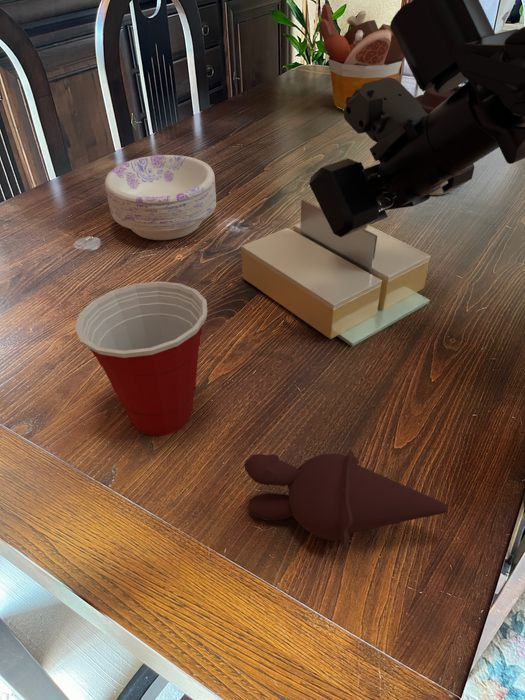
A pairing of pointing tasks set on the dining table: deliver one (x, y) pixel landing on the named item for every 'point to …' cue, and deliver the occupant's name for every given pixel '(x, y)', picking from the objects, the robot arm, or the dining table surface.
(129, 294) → the plastic cup
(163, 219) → the paper bowls
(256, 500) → the icecream
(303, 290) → the slotted wooden block
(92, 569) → the dining table surface
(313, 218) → the slicer
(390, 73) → the bucket of meat
